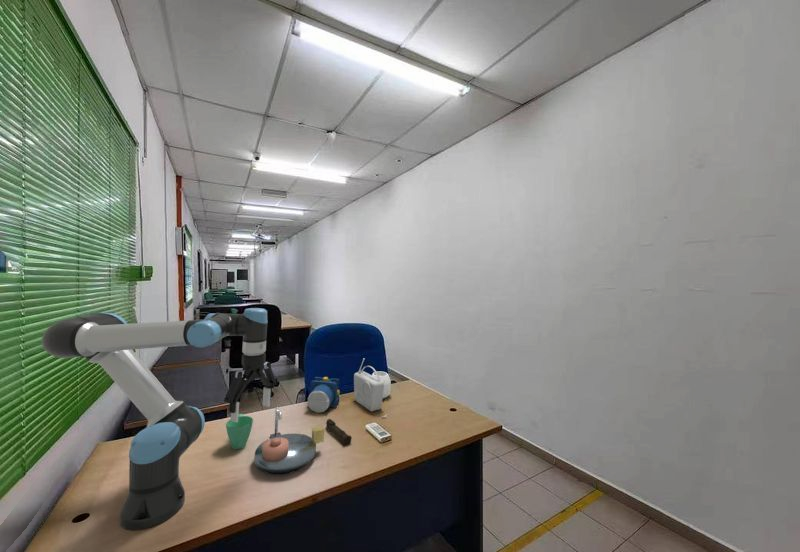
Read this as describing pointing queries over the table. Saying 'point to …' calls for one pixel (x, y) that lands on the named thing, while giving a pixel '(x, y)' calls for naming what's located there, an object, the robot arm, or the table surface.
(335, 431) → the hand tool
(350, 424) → the table surface
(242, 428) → the mug
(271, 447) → the cover
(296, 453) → the turntable
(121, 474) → the table surface
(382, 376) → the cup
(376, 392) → the radio
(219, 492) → the table surface
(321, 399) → the valve
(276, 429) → the indicator stand
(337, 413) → the table surface
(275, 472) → the turntable base
